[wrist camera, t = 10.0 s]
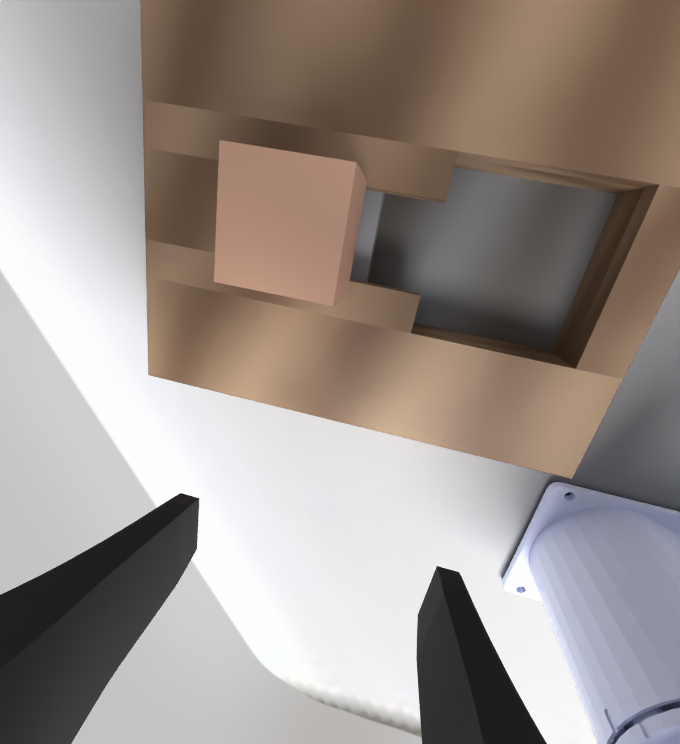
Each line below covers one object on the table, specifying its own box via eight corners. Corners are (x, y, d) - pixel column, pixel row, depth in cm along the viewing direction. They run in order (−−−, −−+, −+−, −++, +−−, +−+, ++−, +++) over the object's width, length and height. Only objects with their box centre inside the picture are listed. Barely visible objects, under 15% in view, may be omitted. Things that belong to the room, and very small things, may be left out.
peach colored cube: (387, 181, 15) (378, 144, 9) (364, 299, 17) (345, 324, 11) (274, 162, 15) (203, 116, 10) (263, 279, 17) (199, 294, 12)
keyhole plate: (718, 59, 12) (816, 0, 10) (544, 441, 18) (571, 478, 15) (193, -10, 14) (139, -76, 11) (186, 355, 20) (148, 374, 17)
